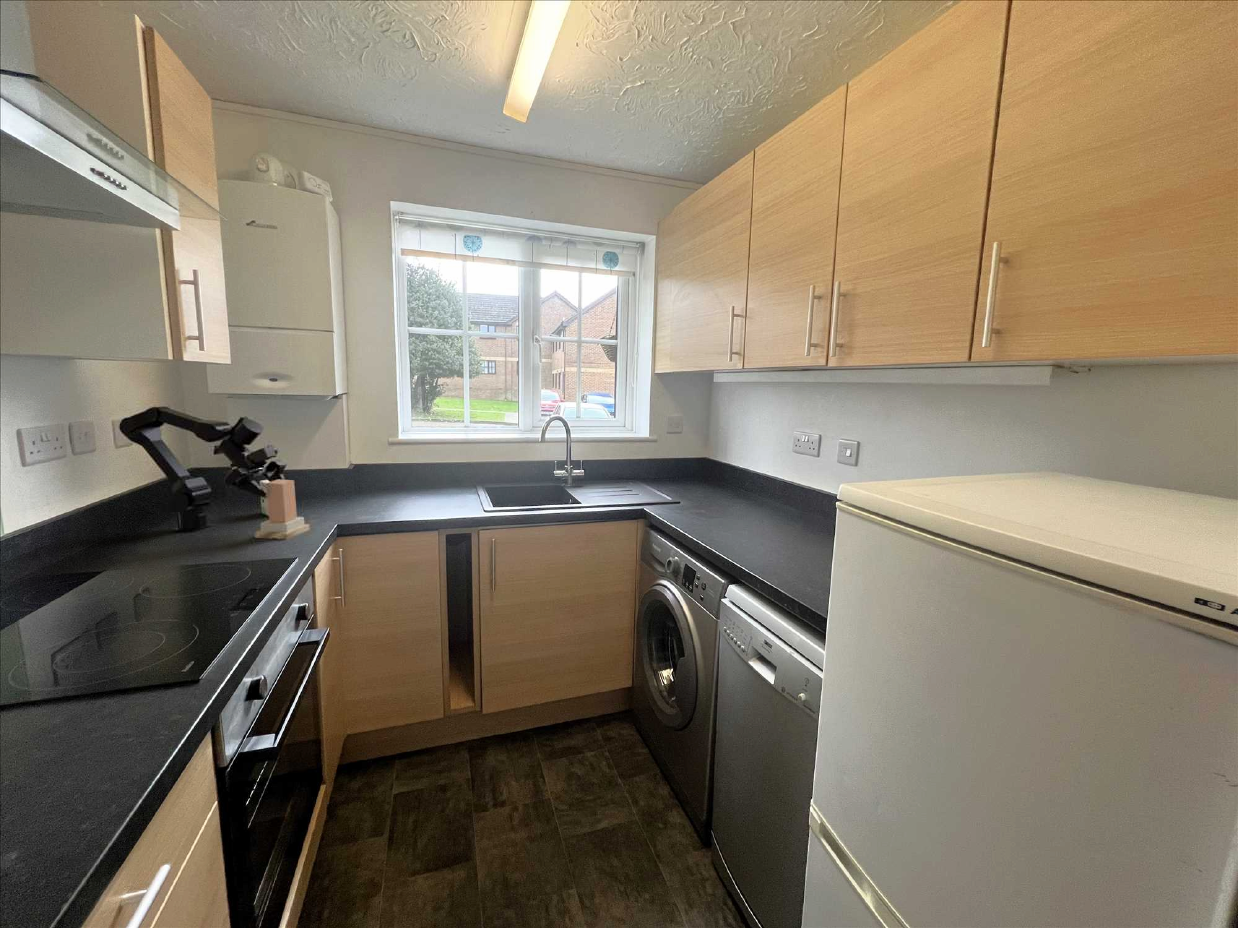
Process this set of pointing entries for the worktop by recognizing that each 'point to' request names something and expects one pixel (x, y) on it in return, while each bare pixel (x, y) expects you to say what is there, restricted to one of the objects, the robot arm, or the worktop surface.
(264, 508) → the ink box
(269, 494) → the pillar block
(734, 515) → the worktop surface
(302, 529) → the base slab
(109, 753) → the worktop surface
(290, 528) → the top slab
